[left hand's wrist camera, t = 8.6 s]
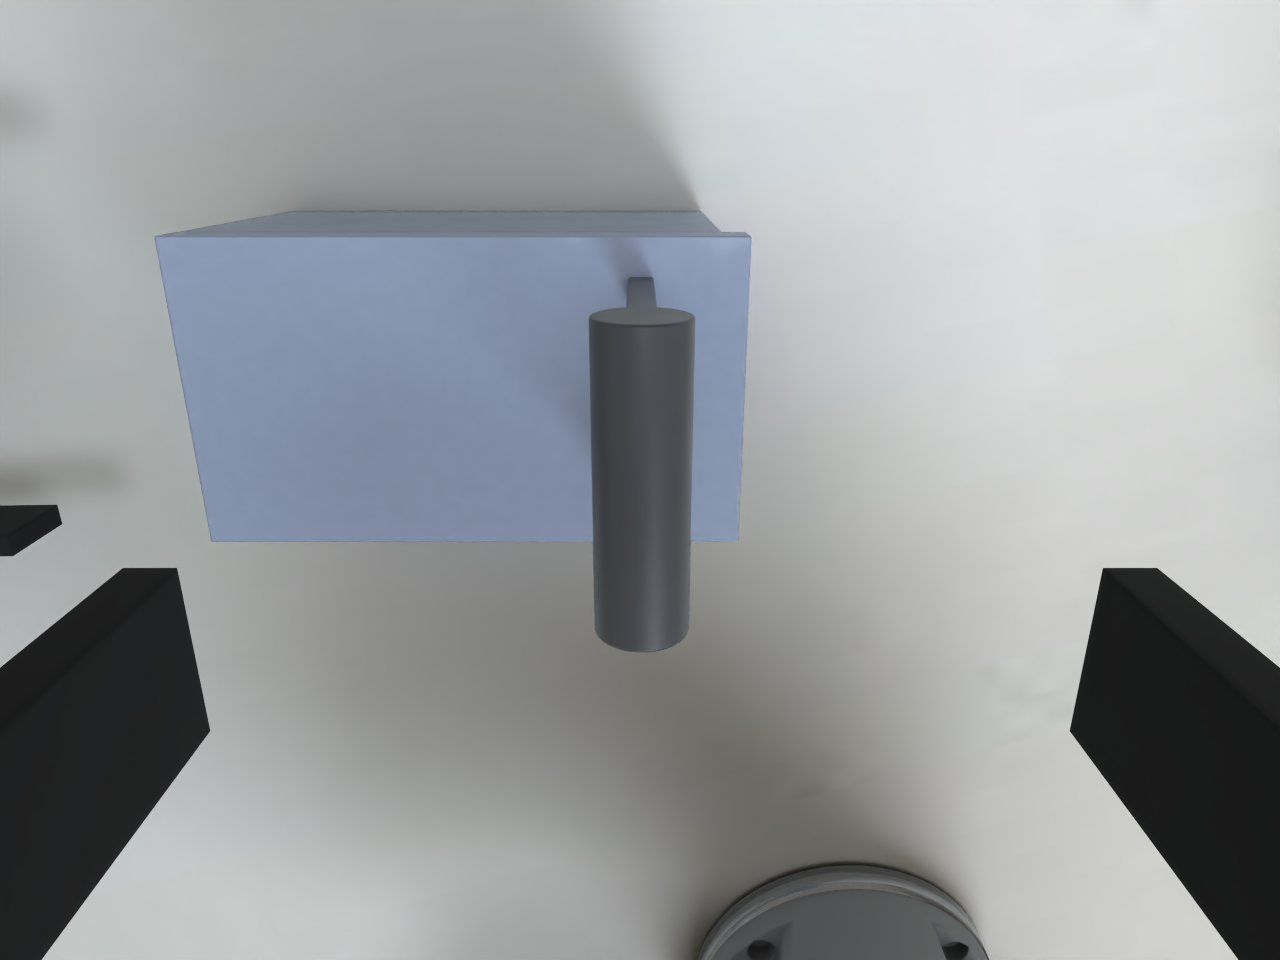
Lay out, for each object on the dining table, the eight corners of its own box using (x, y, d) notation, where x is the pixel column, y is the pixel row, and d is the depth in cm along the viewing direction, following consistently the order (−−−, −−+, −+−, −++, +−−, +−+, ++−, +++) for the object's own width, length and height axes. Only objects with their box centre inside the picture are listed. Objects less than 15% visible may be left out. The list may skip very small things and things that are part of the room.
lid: (746, 231, 25) (801, 275, 16) (734, 526, 28) (775, 689, 20) (175, 231, 25) (-64, 275, 16) (228, 526, 28) (50, 690, 20)
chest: (701, 211, 33) (723, 231, 25) (696, 439, 37) (713, 525, 28) (291, 210, 33) (176, 232, 25) (321, 439, 36) (228, 525, 28)
